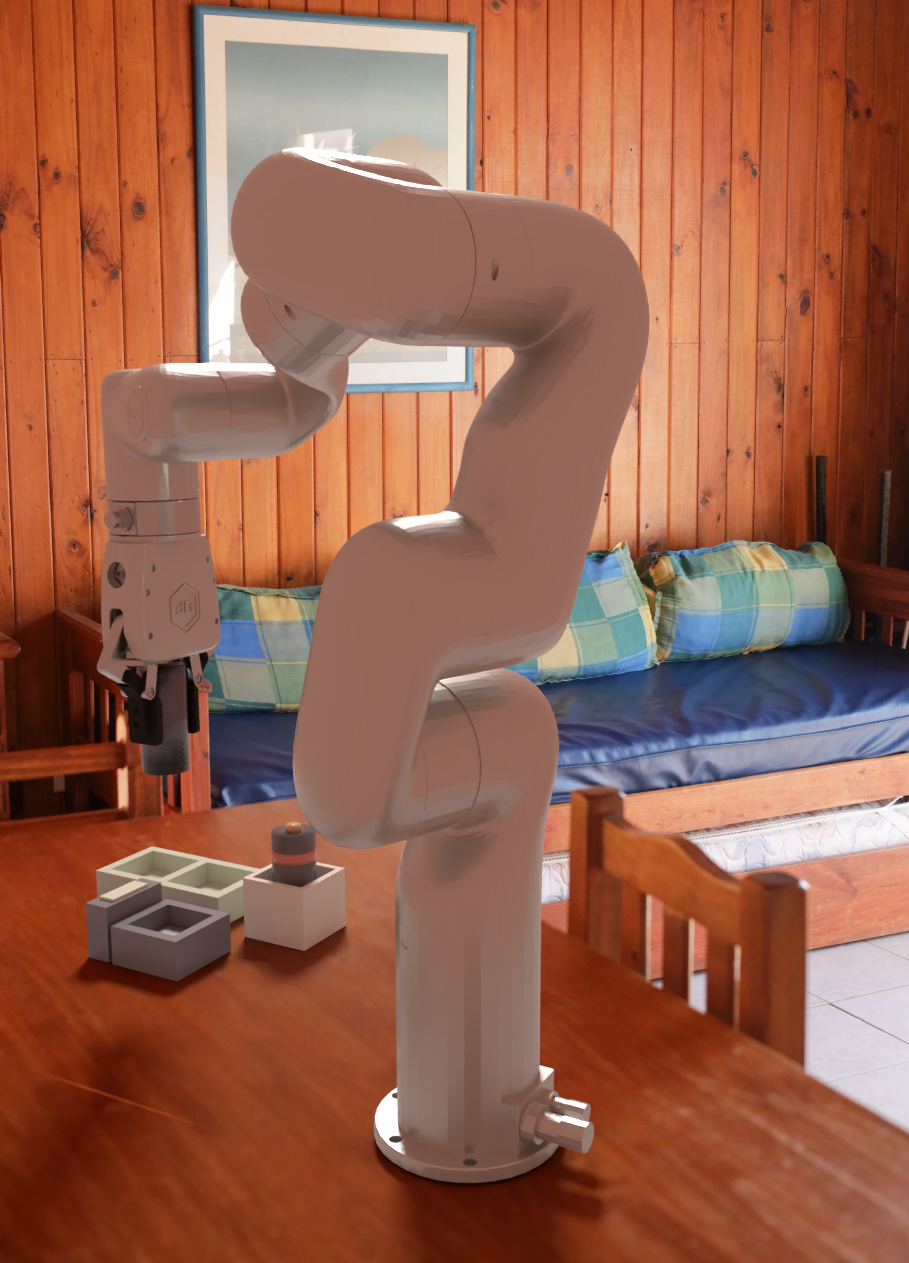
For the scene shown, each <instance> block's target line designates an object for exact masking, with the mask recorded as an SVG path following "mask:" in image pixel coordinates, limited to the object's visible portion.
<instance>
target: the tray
mask: <svg viewBox="0 0 909 1263" xmlns="http://www.w3.org/2000/svg"><path fill="white" fill-rule="evenodd" d="M260 869H261V868H257V867H252V866H248V865H244V864H238V863H235V862H228V861H224V860H221V859H220V860H219V859H215V858H214V859H213V858H211V857H210V858H209V857H205V856H201V855H195V854H190V853H186V852H182V851H181V852H180V851H176V850H172V849H167V848H164V847H163V848H162V847H157V846H149V847H147V848H146V849H145V848H144V849H142V850H139V851H138V852H135V853H133V854H131V855H129V856H127V857H123V858H122V859H119V860H117V861H115V862H112V863H110V864H108V865H105V866H103V867H101V868H99V869H96V870H95V876H96V898H98V897H100V896H101V895H103V894H106V893H108V892H110V891H112V890H114V889H117V888H119V887H121V886H123V885H125V884H128V883H130V882H132V881H135V880H137V879H140V878H144V879H148V880H153V881H157V882H161V890H162V901H163V900H165V899H170V900H174V901H178V902H183V903H187V904H191V905H196V906H200V907H204V908H209V909H213V910H217V911H222V912H226V913H230V924H231V923H233V922H234V921H236V920H238V919H240V918H242V917H244V896H243V878H244V877H246V876H248V875H250V874H252V873H254V872H256V871H258V870H260Z"/></svg>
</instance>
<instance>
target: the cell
mask: <svg viewBox="0 0 909 1263" xmlns="http://www.w3.org/2000/svg"><path fill="white" fill-rule="evenodd" d="M142 670H143V667H137V672H136V673H137V674H138V675H139V676H140V677H141V678H142ZM154 697H157V698H161V706H162V726H163V742H162V744H161V745H158V746H151V745H144V744H140V754H141V770H142V771H141V772H142V773H144V774H146V775H150V776H174V775H178V774H179V775H180V774H183V773H185V772H188V771H189V770H190V769H191V759H190V758H191V757H190V735H189V734H190V733H189V730H188V706H187V683H186V664H185V663H184V662H182V661H181V662H180V661H167V662H163V663H158V666H157V679H156V692H155V696H154Z"/></svg>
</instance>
